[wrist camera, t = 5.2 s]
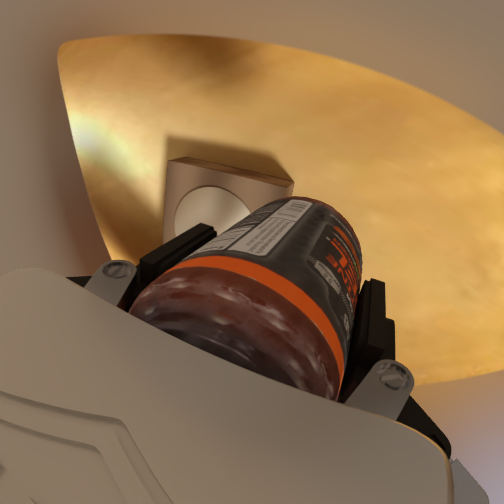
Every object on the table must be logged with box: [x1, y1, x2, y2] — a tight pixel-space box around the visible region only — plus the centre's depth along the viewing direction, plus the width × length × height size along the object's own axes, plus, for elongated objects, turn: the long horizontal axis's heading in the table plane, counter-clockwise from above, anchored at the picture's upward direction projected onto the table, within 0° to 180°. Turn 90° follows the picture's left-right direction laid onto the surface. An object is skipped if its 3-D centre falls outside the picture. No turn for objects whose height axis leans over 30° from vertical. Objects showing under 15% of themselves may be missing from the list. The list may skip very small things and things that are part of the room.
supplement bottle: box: [129, 196, 363, 402], centre depth 10 cm, size 6×6×11 cm
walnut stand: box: [163, 157, 294, 244], centre depth 30 cm, size 12×12×3 cm
